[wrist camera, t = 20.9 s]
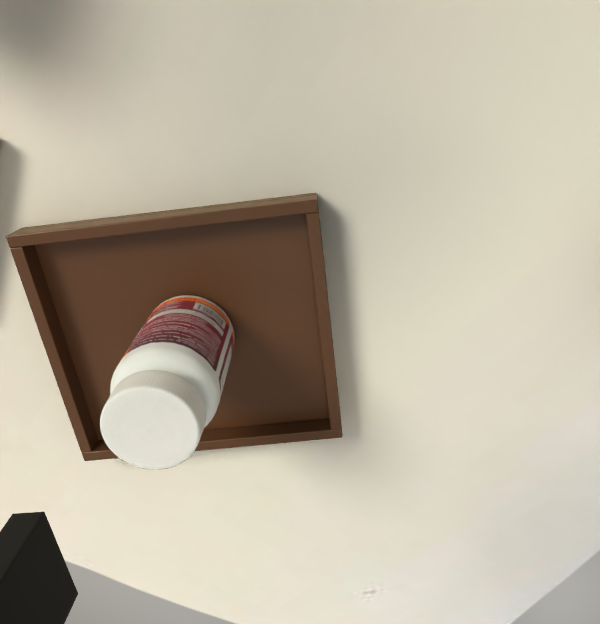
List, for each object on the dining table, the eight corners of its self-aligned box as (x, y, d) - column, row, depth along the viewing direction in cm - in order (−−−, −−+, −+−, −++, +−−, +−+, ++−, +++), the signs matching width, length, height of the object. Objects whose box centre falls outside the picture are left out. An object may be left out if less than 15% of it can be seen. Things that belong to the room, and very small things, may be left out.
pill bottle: (136, 302, 36) (67, 390, 26) (222, 284, 35) (188, 366, 25) (165, 378, 38) (113, 487, 28) (246, 362, 38) (223, 467, 27)
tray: (21, 227, 35) (5, 236, 33) (316, 192, 34) (317, 199, 32) (94, 444, 42) (84, 461, 40) (340, 421, 40) (342, 438, 39)
